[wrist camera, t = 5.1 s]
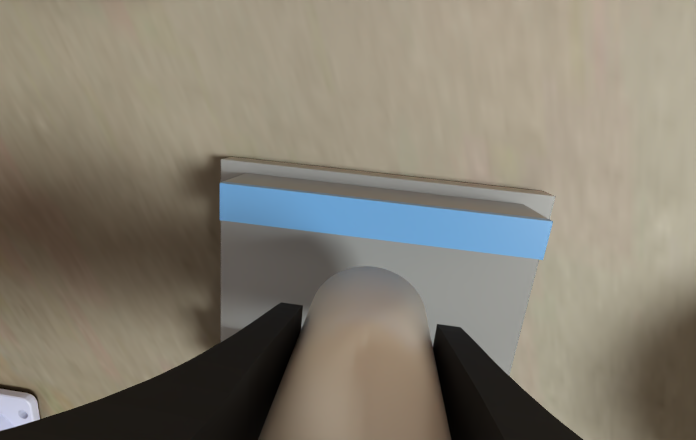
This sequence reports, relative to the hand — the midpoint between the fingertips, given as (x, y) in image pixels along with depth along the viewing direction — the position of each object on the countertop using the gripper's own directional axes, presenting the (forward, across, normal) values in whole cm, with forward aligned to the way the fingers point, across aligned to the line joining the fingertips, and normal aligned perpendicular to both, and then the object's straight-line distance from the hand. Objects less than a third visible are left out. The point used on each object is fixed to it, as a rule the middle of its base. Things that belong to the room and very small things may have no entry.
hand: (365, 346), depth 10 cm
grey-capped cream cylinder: (+2, 0, 0) cm, 2 cm away
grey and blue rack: (+5, 0, +4) cm, 7 cm away
